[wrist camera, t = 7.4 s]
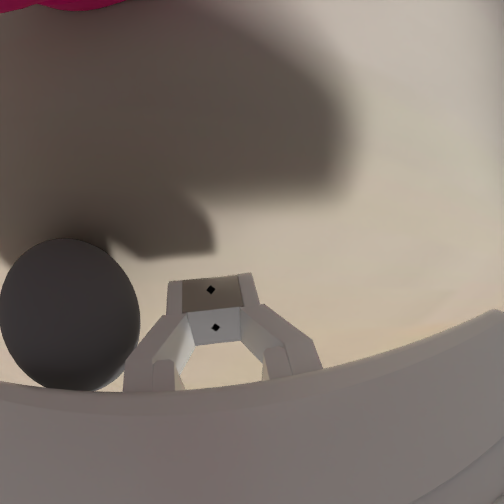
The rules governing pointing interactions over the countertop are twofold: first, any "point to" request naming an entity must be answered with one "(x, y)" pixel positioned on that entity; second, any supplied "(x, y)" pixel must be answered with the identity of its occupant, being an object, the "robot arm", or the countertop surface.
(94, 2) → the pepper mill
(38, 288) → the dark grey ball
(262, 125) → the countertop surface
